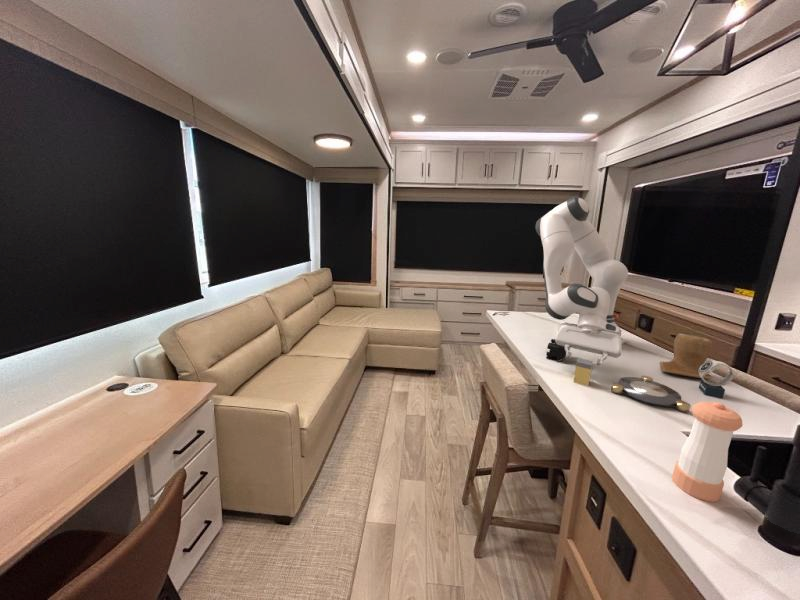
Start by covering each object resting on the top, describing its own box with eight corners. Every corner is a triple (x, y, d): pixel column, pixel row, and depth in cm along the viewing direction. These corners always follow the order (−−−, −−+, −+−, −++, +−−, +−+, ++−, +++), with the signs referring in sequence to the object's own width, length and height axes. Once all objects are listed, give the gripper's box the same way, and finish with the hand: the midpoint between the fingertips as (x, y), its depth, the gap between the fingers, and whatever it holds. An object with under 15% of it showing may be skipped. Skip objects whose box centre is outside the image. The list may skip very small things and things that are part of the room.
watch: (691, 386, 107) (699, 356, 104) (722, 392, 103) (732, 361, 101) (696, 393, 102) (705, 362, 99) (730, 400, 98) (740, 368, 96)
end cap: (564, 363, 121) (567, 347, 120) (545, 359, 125) (547, 343, 124) (568, 356, 129) (571, 340, 128) (550, 351, 133) (552, 336, 132)
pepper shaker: (681, 494, 62) (706, 408, 57) (665, 469, 69) (687, 390, 64) (728, 507, 59) (758, 418, 55) (707, 479, 66) (732, 398, 62)
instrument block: (574, 377, 110) (578, 357, 109) (589, 381, 108) (592, 361, 106) (573, 382, 107) (576, 361, 105) (588, 386, 104) (591, 365, 103)
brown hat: (698, 370, 119) (709, 333, 116) (715, 384, 109) (727, 344, 105) (650, 363, 125) (659, 327, 121) (662, 375, 114) (671, 337, 111)
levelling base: (637, 378, 111) (639, 372, 110) (705, 406, 94) (707, 399, 94) (602, 388, 103) (604, 382, 103) (669, 420, 86) (671, 413, 86)
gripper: (559, 317, 117) (550, 348, 111) (625, 329, 106) (619, 365, 100) (559, 325, 122) (550, 356, 116) (622, 337, 110) (616, 373, 105)
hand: (583, 360), depth 108 cm, fingers open, 8 cm apart
